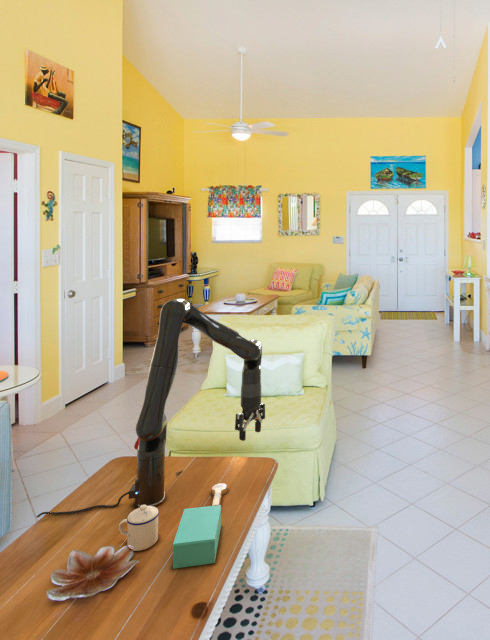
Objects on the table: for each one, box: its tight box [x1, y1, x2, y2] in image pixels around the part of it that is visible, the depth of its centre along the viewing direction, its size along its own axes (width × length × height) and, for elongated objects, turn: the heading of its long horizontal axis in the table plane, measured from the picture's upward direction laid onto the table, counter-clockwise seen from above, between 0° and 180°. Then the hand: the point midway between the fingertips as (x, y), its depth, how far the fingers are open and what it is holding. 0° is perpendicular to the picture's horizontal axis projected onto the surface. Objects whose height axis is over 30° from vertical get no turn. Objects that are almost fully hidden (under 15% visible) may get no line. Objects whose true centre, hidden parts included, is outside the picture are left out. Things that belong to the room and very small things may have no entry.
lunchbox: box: [172, 509, 222, 569], centre depth 146 cm, size 18×12×7 cm, turn 13°
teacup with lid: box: [118, 505, 160, 552], centre depth 147 cm, size 12×9×12 cm
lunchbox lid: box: [172, 504, 222, 548], centre depth 145 cm, size 18×12×1 cm, turn 13°
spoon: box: [211, 482, 228, 506], centre depth 172 cm, size 17×5×3 cm, turn 13°
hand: (250, 435), depth 176 cm, fingers open, 8 cm apart
